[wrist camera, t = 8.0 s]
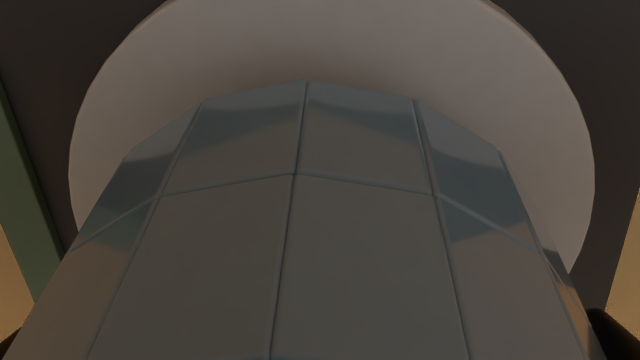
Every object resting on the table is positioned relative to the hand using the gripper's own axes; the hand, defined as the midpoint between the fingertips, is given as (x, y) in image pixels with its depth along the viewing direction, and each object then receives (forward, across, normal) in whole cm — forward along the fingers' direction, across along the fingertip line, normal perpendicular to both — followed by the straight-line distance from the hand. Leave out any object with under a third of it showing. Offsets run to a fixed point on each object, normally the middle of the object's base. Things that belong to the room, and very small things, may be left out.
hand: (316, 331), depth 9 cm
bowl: (+2, 0, 0) cm, 2 cm away
